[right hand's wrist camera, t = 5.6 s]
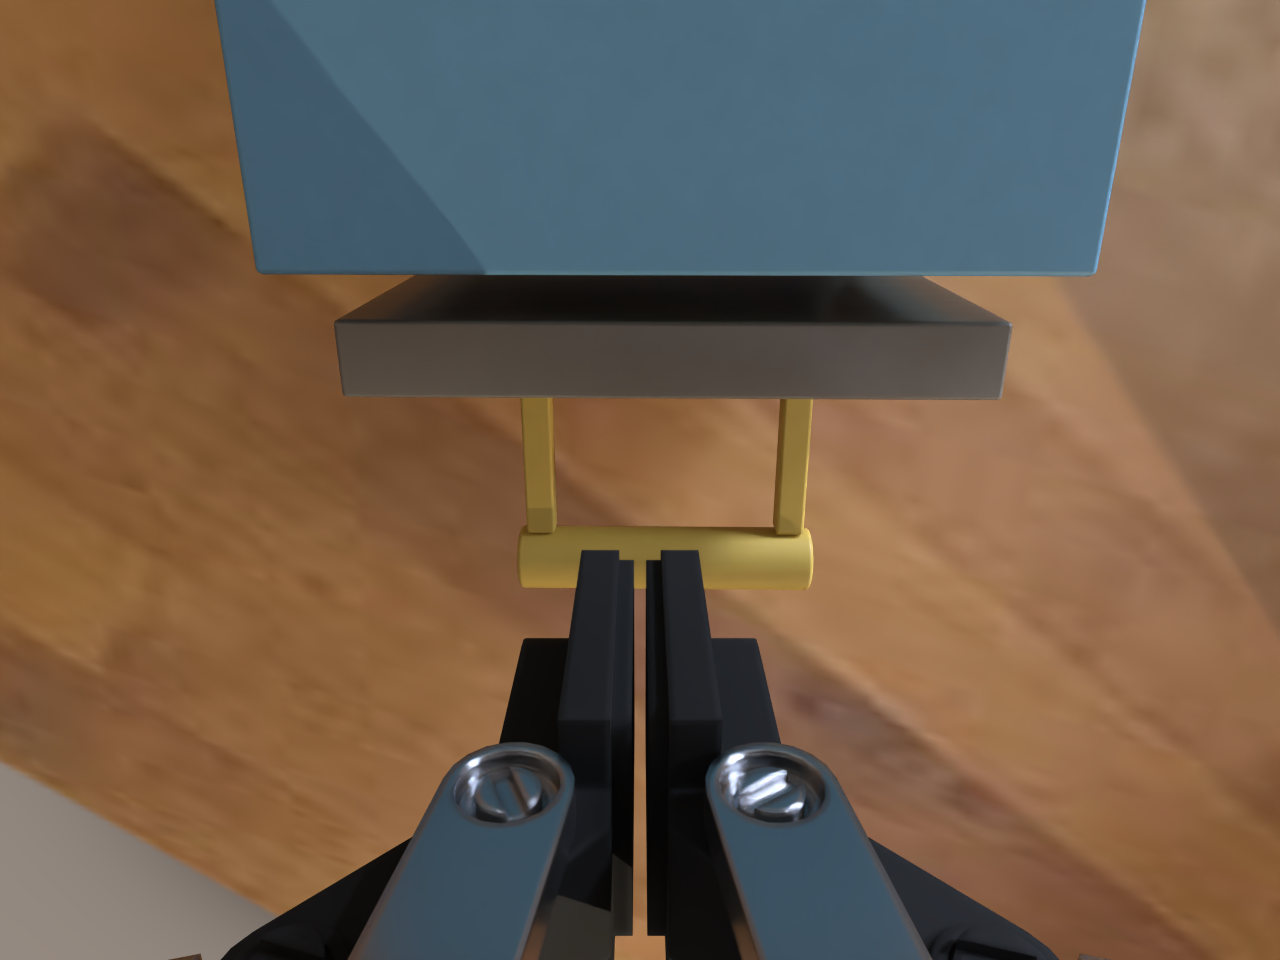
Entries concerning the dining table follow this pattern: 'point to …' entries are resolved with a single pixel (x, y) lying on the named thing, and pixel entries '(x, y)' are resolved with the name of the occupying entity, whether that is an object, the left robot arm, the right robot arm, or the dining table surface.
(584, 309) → the drawer
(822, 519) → the dining table surface
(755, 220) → the cabinet
